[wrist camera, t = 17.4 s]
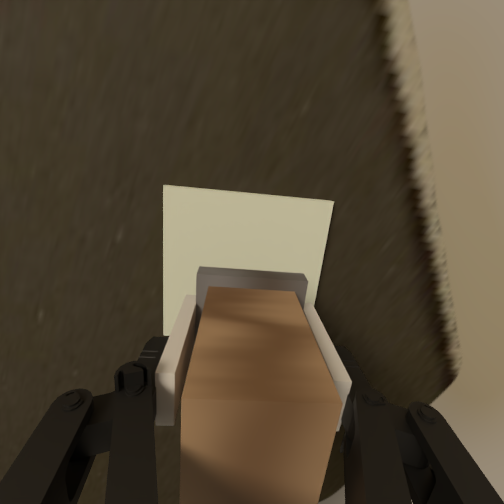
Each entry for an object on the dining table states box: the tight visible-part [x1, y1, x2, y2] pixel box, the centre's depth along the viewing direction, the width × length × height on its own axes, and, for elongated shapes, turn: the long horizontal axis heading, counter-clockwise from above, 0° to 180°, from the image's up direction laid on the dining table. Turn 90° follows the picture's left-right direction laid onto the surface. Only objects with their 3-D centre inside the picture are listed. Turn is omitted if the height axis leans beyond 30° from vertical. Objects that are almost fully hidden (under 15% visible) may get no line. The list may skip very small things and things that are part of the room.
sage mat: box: [163, 185, 334, 336], centre depth 25 cm, size 14×14×1 cm
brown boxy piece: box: [180, 266, 343, 504], centre depth 13 cm, size 6×6×9 cm
